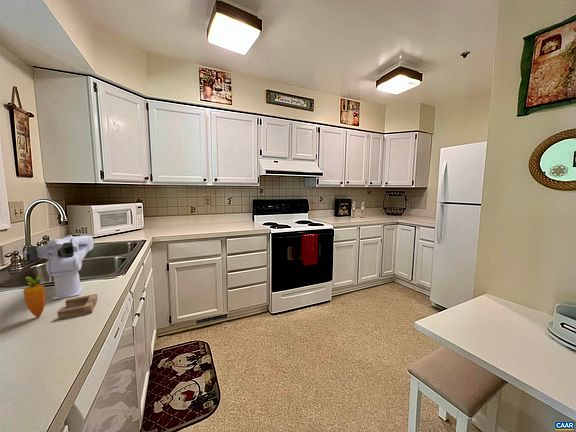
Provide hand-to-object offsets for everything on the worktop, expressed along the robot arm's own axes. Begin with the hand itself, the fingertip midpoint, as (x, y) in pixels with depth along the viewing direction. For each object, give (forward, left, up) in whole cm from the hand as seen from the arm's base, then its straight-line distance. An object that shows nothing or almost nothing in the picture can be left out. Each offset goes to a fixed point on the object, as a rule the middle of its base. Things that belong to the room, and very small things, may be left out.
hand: (43, 255), depth 83 cm
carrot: (-1, -4, -22) cm, 22 cm away
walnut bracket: (-1, +6, -22) cm, 23 cm away
